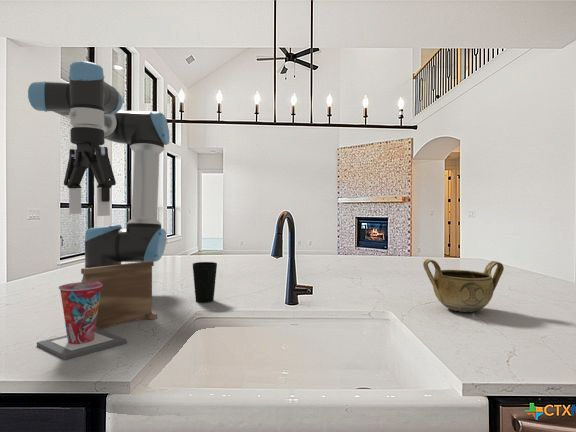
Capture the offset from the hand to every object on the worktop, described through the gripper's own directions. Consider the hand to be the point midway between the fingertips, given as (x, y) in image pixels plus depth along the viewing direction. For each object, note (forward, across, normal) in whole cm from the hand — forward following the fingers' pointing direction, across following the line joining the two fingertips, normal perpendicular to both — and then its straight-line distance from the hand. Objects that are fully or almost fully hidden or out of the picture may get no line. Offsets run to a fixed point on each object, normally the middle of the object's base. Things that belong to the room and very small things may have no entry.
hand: (89, 214), depth 103 cm
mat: (+27, +13, -9) cm, 31 cm away
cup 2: (+29, +1, +36) cm, 47 cm away
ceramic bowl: (+28, +70, +76) cm, 107 cm away
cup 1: (+27, +12, -9) cm, 31 cm away
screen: (+28, +4, +6) cm, 29 cm away
